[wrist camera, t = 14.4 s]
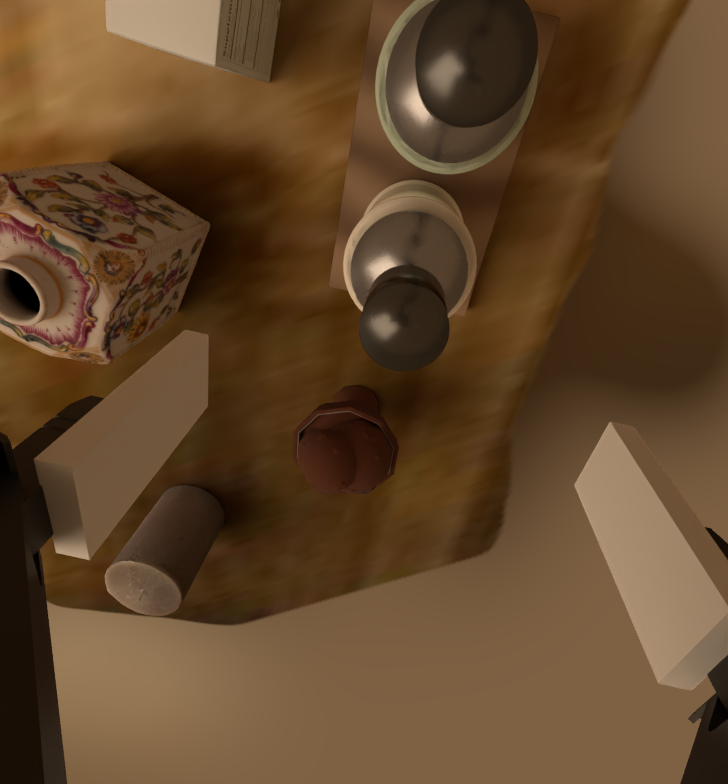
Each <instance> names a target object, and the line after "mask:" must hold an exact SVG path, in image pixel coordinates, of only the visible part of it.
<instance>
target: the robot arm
mask: <svg viewBox="0 0 728 784" xmlns="http://www.w3.org/2000/svg"><path fill="white" fill-rule="evenodd" d="M207 406H208V335H207V334H202V333H198V332H193V331H189V330H184V331H183V332H182V333H181V334H180V335H178V336H177V337H176V338H175V339H174V340H172V341H171V342H170V343H169V344H168V345H167V346H165V347H164V348H163V349H162V350H161V351H160V352H158V353H157V354H156V355H155V356H154V357H153V358H151V359H150V360H149V361H148V362H147V363H146V364H144V365H143V366H142V367H141V368H140V369H139V370H137V371H136V372H135V373H134V374H133V375H132V376H130V377H129V378H128V379H127V380H126V381H125V382H123V383H122V384H121V385H120V386H119V387H117V388H116V389H115V390H114V391H113V392H112V393H110V394H109V395H108V396H107V397H106V398H100V397H95V396H88V397H86V398H84V399H81V400H79V401H76V402H74V403H72V404H70V405H68V406H67V407H66V408H65V409H63V410H62V411H61V412H60V413H58V414H57V415H56V417H55V418H52V419H51V420H49V421H48V422H47V423H46V424H44V425H43V428H39V429H38V430H37V431H35V432H34V433H33V434H32V435H30V436H29V437H28V438H27V439H25V440H24V441H23V442H21V443H20V444H19V445H18V446H16V447H15V448H14V449H13V450H12V447H11V443H10V441H9V439H8V437H7V436H6V435H4V434H2V433H0V784H67V779H66V770H65V761H64V752H63V744H62V734H61V725H60V716H59V708H58V699H57V690H56V681H55V673H54V663H53V654H52V646H51V637H50V628H49V619H48V610H47V601H46V593H45V584H44V575H43V566H42V558H41V554H40V550H39V549H40V548H41V547H42V546H43V545H44V544H45V543H46V542H47V540H48V539H49V538H50V537H51V536H52V537H53V541H54V545H55V549H56V553H60V554H64V555H69V556H73V557H78V558H83V559H87V560H90V559H91V557H92V556H93V555H94V553H95V552H96V551H97V550H98V548H99V547H100V546H101V544H102V543H103V542H104V540H105V539H106V538H107V537H108V535H109V534H110V533H111V531H112V530H113V529H114V527H115V526H116V525H117V524H118V522H119V521H120V520H121V518H122V517H123V516H124V514H125V513H126V512H127V511H128V509H129V508H130V507H131V505H132V504H133V503H134V501H135V500H136V499H137V498H138V496H139V495H140V494H141V492H142V491H143V490H144V488H145V487H146V486H147V485H148V483H149V482H150V481H151V479H152V478H153V477H154V475H155V474H156V473H157V471H158V470H159V469H160V468H161V466H162V465H163V464H164V462H165V461H166V460H167V458H168V457H169V456H170V455H171V453H172V452H173V451H174V449H175V448H176V447H177V445H178V444H179V443H180V442H181V440H182V439H183V438H184V436H185V435H186V434H187V432H188V431H189V430H190V429H191V427H192V426H193V425H194V423H195V422H196V421H197V419H198V418H199V417H200V416H201V414H202V413H203V412H204V410H205V409H206V408H207ZM574 486H575V488H576V490H577V493H578V495H579V498H580V500H581V502H582V505H583V507H584V509H585V512H586V514H587V516H588V519H589V521H590V524H591V526H592V528H593V530H594V533H595V535H596V538H597V540H598V542H599V545H600V547H601V549H602V552H603V554H604V556H605V559H606V561H607V564H608V566H609V568H610V570H611V573H612V575H613V578H614V580H615V582H616V585H617V587H618V589H619V592H620V594H621V596H622V599H623V601H624V603H625V606H626V608H627V610H628V613H629V615H630V617H631V620H632V622H633V625H634V627H635V629H636V632H637V634H638V636H639V639H640V641H641V643H642V646H643V648H644V650H645V653H646V655H647V658H648V660H649V662H650V665H651V667H652V669H653V672H654V674H655V676H656V679H657V681H658V683H659V684H663V685H668V686H672V687H677V688H682V689H687V690H691V691H692V690H693V689H694V688H695V687H696V686H697V685H698V684H699V683H700V682H701V681H703V680H704V679H705V678H706V677H707V676H708V677H709V679H710V681H711V683H712V685H713V687H714V689H715V690H716V693H715V694H714V695H713V696H712V697H711V698H710V699H709V700H708V701H706V702H705V703H704V704H703V705H702V706H701V707H700V708H698V709H697V710H696V711H695V712H694V713H693V714H692V715H691V716H690V717H689V720H690V721H691V722H692V723H694V722H696V721H697V720H698V719H699V718H702V719H701V722H700V725H699V728H698V731H697V735H696V738H695V741H694V744H693V747H692V750H691V753H690V756H689V759H688V762H687V766H686V768H685V772H684V774H683V778H682V781H681V784H728V544H727V543H726V542H725V541H724V540H723V539H722V538H721V537H720V536H719V535H717V534H716V533H715V532H714V531H713V530H712V529H711V528H706V527H704V526H703V524H702V523H701V521H700V520H699V519H698V517H697V516H696V514H695V513H694V512H693V510H692V509H691V508H690V506H689V504H688V503H687V502H686V501H685V499H684V497H683V496H682V495H681V493H680V492H679V490H678V489H677V488H676V486H675V485H674V483H673V482H672V480H671V479H670V478H669V476H668V475H667V473H666V472H665V470H664V469H663V468H662V466H661V465H660V463H659V462H658V461H657V459H656V458H655V456H654V455H653V454H652V452H651V451H650V449H649V448H648V446H647V445H646V444H645V442H644V441H643V439H642V438H641V437H640V435H639V434H638V432H637V431H636V429H635V428H634V427H633V426H628V425H623V424H619V423H614V422H610V423H609V424H608V426H607V428H606V430H605V431H604V433H603V435H602V437H601V439H600V440H599V442H598V444H597V446H596V447H595V449H594V451H593V453H592V455H591V456H590V458H589V460H588V462H587V464H586V465H585V467H584V469H583V471H582V472H581V474H580V476H579V478H578V480H577V482H576V483H575V485H574Z"/></svg>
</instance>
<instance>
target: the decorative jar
mask: <svg viewBox="0 0 728 784" xmlns="http://www.w3.org/2000/svg"><path fill="white" fill-rule="evenodd" d="M209 229H210V223H209V222H208V221H206V220H204V219H202V218H200V217H199V216H197V215H195V214H194V213H192V212H191V211H189V210H188V209H186V208H184V207H182V206H181V205H179V204H178V203H176V202H174V201H173V200H171V199H170V198H168V197H166V196H164V195H163V194H161V193H159V192H158V191H156V190H155V189H153V188H151V187H150V186H148V185H147V184H145V183H143V182H142V181H140V180H138V179H136V178H135V177H133V176H131V175H130V174H128V173H126V172H124V171H122V170H121V169H119V168H118V167H116V166H114V165H113V164H111V163H109V162H107V161H104V162H91V163H75V164H64V165H54V166H47V167H36V168H31V169H23V170H17V171H10V172H5V173H2V172H0V331H1V332H3V333H4V334H6V335H8V336H10V337H12V338H14V339H15V340H17V341H19V342H21V343H22V344H24V345H26V346H28V347H31V348H33V349H35V350H38V351H40V352H42V353H45V354H47V355H50V356H56V357H62V358H70V359H74V360H79V361H84V362H88V363H98V364H109V363H111V362H113V361H114V360H116V359H117V358H119V357H120V356H122V355H123V354H125V353H126V352H127V351H129V350H130V349H132V348H133V347H134V346H135V345H137V344H138V343H139V342H141V341H142V340H143V339H144V338H146V337H147V336H149V335H150V334H152V333H153V332H154V331H156V330H157V329H158V328H160V327H161V326H162V325H164V324H165V323H166V322H167V321H168V320H169V319H171V318H172V317H173V316H174V315H175V314H176V313H177V311H178V309H179V306H180V304H181V301H182V299H183V296H184V293H185V291H186V288H187V286H188V283H189V280H190V278H191V275H192V273H193V271H194V268H195V265H196V263H197V260H198V258H199V255H200V252H201V249H202V247H203V244H204V241H205V239H206V237H207V234H208V232H209Z"/></svg>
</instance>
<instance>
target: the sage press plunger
mask: <svg viewBox="0 0 728 784" xmlns="http://www.w3.org/2000/svg"><path fill="white" fill-rule="evenodd" d="M537 54H538V33H537V28H536V23H535V20H534V17H533V14H532V12H531V10H530V8H529V6H528V4H527V3H526V1H525V0H433V1H432V2H430V3H428V4H427V5H426V6H424V7H423V8H421V9H420V10H419V11H418V12H417V13H416V14H415V15H414V16H413V17H412V18H411V19H410V20H409V22H408V23H407V24H406V25H405V27H404V28H403V30H402V31H401V33H400V35H399V36H398V38H397V40H396V42H395V44H394V47H393V49H392V52H391V55H390V58H389V62H388V67H387V73H386V89H385V91H386V101H387V106H388V111H389V114H390V117H391V120H392V122H393V125H394V127H395V129H396V131H397V132H398V134H399V135H400V137H401V138H402V139H403V141H404V142H405V143H406V144H407V145H408V146H409V147H410V148H411V149H412V150H413V151H415V152H416V153H418V154H419V155H421V156H423V157H425V158H427V159H429V160H433V161H436V162H441V163H459V162H465V161H468V160H472V159H474V158H476V157H479V156H481V155H483V154H484V153H486V152H488V151H489V150H490V149H492V148H493V147H494V146H496V145H497V144H498V143H499V142H500V141H501V140H502V139H503V138H504V137H505V136H506V134H507V133H508V132H509V131H510V130H511V128H512V127H513V125H514V123H515V122H516V120H517V118H518V116H519V114H520V112H521V110H522V108H523V105H524V102H525V100H526V96H527V92H528V88H529V83H530V81H531V78H532V75H533V72H534V69H535V65H536V61H537Z"/></svg>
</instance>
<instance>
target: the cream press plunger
mask: <svg viewBox="0 0 728 784" xmlns="http://www.w3.org/2000/svg"><path fill="white" fill-rule="evenodd" d="M350 270H351V282H352V286H353V290H354V292H355V295H356V297H357V299H358V301H359V302H360V304H361V305H362V306H363V311H362V314H361V317H360V321H359V336H360V340H361V343H362V345H363V348H364V349H365V351H366V352H367V354H368V355H369V356H370V357H371V358H372V359H373V360H374V361H375V362H377V363H378V364H380V365H382V366H383V367H386V368H388V369H392V370H397V371H412V370H416V369H420V368H422V367H425V366H427V365H428V364H430V363H431V362H433V361H434V360H435V359H436V358H437V357H438V356H439V355H440V354H441V353H442V351H443V350H444V348H445V346H446V343H447V341H448V337H449V320H448V313H449V312H450V311H451V310H452V309H453V308H454V307H455V305H456V304H457V303H458V301H459V300H460V298H461V296H462V294H463V292H464V289H465V287H466V282H467V277H468V261H467V255H466V252H465V249H464V246H463V244H462V242H461V240H460V238H459V236H458V235H457V233H456V232H455V231H454V229H453V228H452V227H451V226H450V225H449V224H448V223H446V222H445V221H444V220H442V219H441V218H439V217H438V216H435V215H433V214H431V213H428V212H424V211H419V210H402V211H397V212H393V213H390V214H388V215H386V216H384V217H382V218H380V219H379V220H377V221H376V222H375V223H373V224H372V225H371V226H370V227H369V228H368V229H367V230H366V231H365V232H364V234H363V235H362V237H361V238H360V240H359V242H358V244H357V245H356V248H355V250H354V253H353V256H352V260H351V269H350Z"/></svg>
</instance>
